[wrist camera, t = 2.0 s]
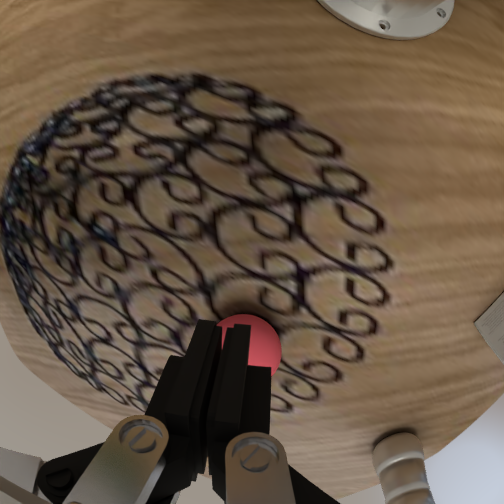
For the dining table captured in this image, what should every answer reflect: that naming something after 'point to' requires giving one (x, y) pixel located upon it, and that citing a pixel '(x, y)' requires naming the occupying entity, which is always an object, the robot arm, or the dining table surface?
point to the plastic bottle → (402, 470)
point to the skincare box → (493, 327)
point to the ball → (257, 340)
